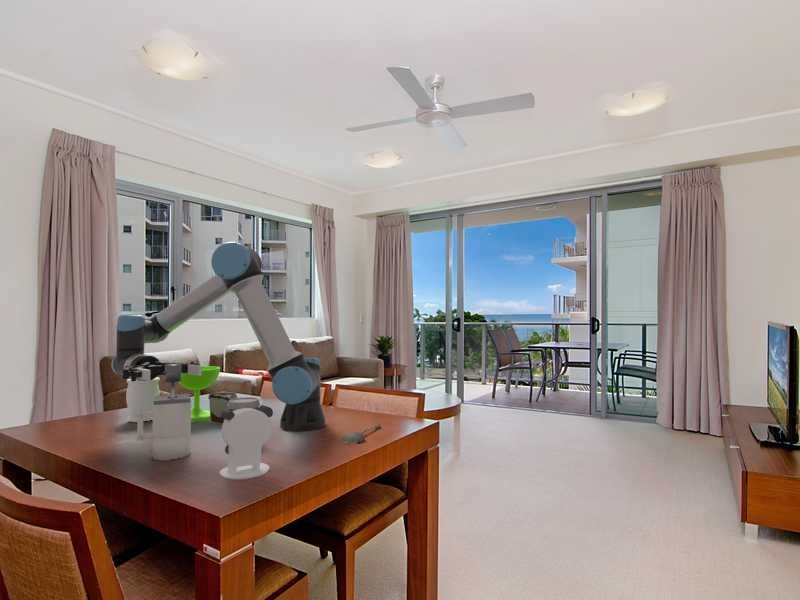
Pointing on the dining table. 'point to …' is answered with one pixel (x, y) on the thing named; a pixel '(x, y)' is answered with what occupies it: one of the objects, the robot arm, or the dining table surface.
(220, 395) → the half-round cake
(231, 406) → the disposable coffee cup
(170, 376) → the plunger
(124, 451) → the dining table surface
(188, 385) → the wineglass
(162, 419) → the press pot
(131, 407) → the jar
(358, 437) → the soupspoon
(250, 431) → the panda figurine
